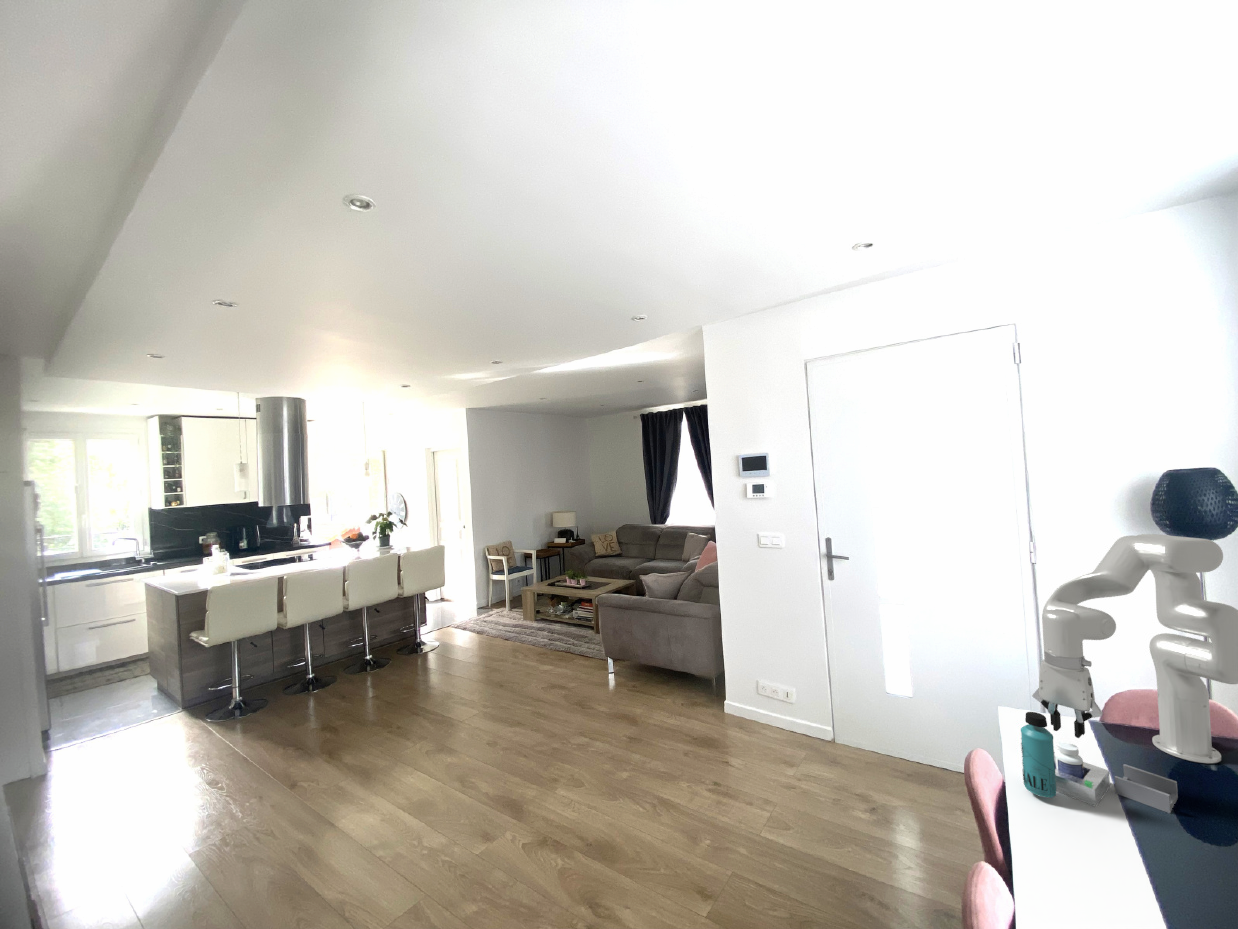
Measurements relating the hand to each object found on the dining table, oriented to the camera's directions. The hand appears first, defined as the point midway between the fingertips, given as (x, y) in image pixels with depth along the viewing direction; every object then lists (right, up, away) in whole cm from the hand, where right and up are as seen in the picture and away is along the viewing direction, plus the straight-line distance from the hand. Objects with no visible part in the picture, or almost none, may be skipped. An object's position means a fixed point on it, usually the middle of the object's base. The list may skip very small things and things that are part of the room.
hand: (1067, 731), depth 127 cm
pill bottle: (+1, -13, 0) cm, 13 cm away
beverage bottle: (-10, -14, -4) cm, 18 cm away
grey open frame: (+14, -12, -6) cm, 20 cm away
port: (+1, -13, 0) cm, 13 cm away
